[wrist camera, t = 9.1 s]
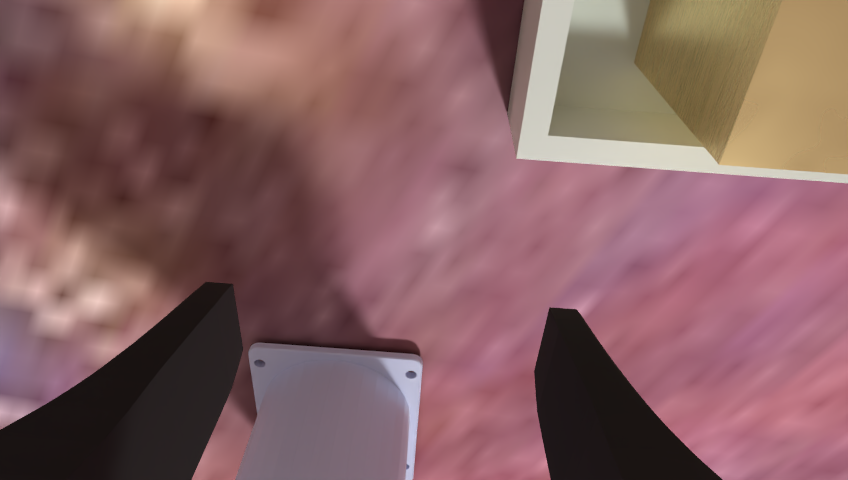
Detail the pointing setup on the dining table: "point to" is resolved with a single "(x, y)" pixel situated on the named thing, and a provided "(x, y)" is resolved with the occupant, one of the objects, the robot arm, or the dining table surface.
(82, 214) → the dining table surface
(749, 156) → the tea tin
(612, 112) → the tote
